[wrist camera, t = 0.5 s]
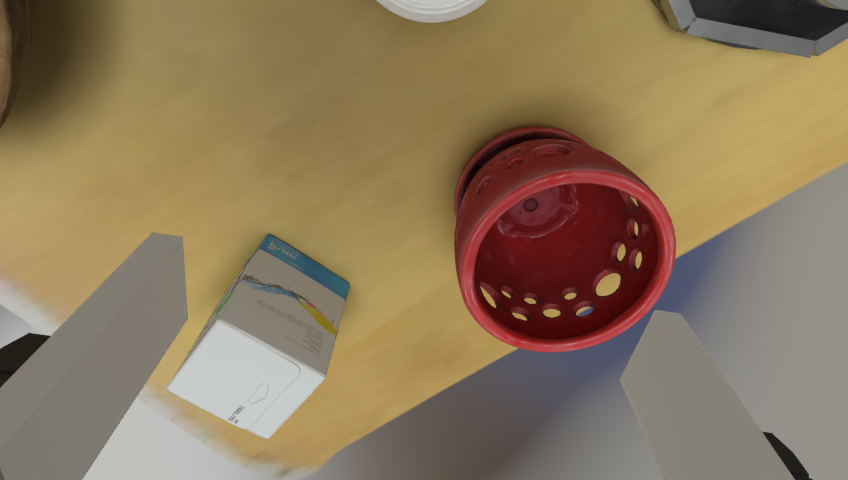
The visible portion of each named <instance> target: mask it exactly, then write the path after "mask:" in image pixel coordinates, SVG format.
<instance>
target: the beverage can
mask: <svg viewBox="0 0 848 480" xmlns="http://www.w3.org/2000/svg"><path fill="white" fill-rule="evenodd" d="M376 1H377V2H379V3H380V4H381V5H382V6H384V7H385V8H386V9H388V10H389V11H391V12H393V13H395V14H397V15H399V16H401V17H403V18H406V19H409V20H413V21H417V22H425V23H439V22H446V21H450V20H454V19H457V18H460V17H462V16H465V15H467V14H469V13H471V12H472V11H474V10H476V9H477V8H479V7H480V6H481V5H483V4H484V3H485V2H486V1H487V0H376Z"/></svg>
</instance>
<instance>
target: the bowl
mask: <svg viewBox="0 0 848 480" xmlns="http://www.w3.org/2000/svg"><path fill="white" fill-rule="evenodd" d="M30 37H31V25H30V8H29V0H0V128H1V127H2V125H3V124H4V122H5V120H6V118H7V116H8V114H9V112H10V109H11V107H12V105H13V102H14V100H15V97H16V93H17V90H18V87H19V83H20V80H21V75H22V72H23V67H24V64H25V60H26V57H27V52H28V48H29V44H30Z"/></svg>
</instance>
